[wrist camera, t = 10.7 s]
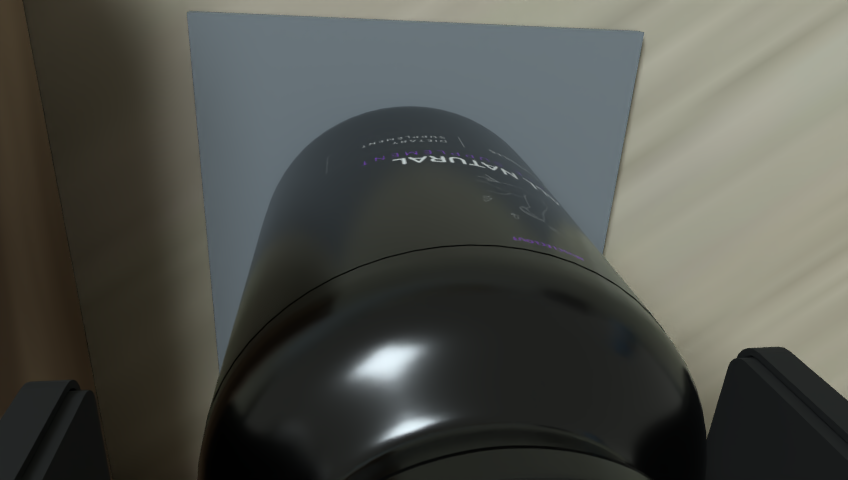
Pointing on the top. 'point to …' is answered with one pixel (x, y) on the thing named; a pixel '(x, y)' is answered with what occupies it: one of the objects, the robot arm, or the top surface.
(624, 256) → the top surface
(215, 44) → the mat
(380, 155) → the supplement bottle
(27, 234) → the wooden corner wall
